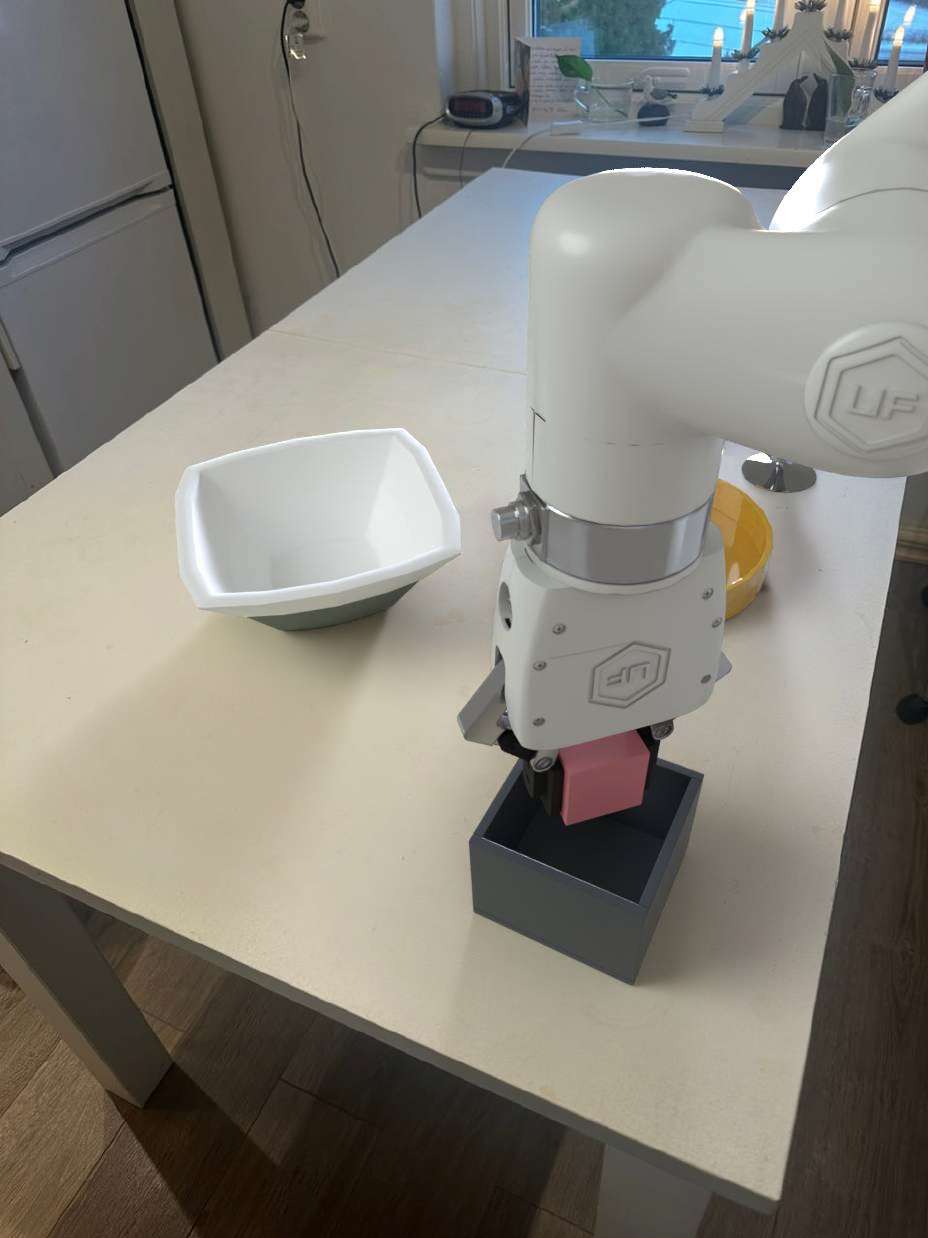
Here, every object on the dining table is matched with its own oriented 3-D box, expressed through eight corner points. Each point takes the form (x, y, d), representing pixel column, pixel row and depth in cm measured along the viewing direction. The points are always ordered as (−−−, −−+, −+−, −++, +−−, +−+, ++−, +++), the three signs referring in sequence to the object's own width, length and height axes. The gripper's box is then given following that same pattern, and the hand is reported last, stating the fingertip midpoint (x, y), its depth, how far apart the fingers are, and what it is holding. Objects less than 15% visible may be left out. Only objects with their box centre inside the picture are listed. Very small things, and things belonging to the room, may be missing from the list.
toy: (608, 744, 50) (614, 692, 47) (641, 805, 47) (650, 753, 44) (536, 764, 49) (538, 711, 46) (565, 826, 46) (569, 775, 43)
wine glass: (825, 459, 88) (864, 315, 78) (814, 501, 83) (854, 352, 73) (745, 445, 91) (773, 304, 81) (729, 485, 86) (757, 339, 76)
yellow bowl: (696, 477, 87) (700, 446, 85) (811, 601, 73) (821, 568, 70) (506, 518, 83) (506, 487, 81) (588, 657, 69) (591, 625, 67)
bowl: (418, 491, 87) (411, 416, 82) (485, 642, 71) (482, 560, 65) (194, 535, 83) (171, 459, 78) (210, 705, 67) (181, 624, 61)
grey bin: (541, 789, 60) (544, 715, 55) (687, 847, 56) (704, 773, 51) (473, 912, 53) (467, 841, 48) (632, 987, 49) (645, 918, 44)
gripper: (443, 612, 31) (461, 883, 44) (850, 520, 35) (761, 796, 47) (394, 500, 37) (423, 770, 49) (751, 429, 40) (694, 698, 52)
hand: (588, 780), depth 48 cm, fingers closed on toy, 4 cm apart
